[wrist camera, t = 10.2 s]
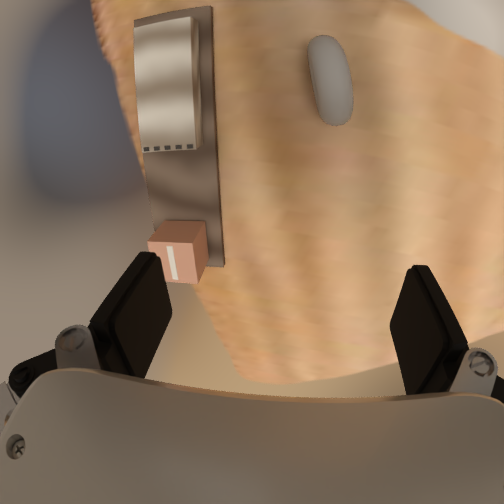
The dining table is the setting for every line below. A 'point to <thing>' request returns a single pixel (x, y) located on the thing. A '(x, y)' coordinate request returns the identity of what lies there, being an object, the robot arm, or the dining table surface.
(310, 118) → the dining table surface
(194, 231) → the taped shipping carton
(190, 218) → the board
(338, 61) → the donut
